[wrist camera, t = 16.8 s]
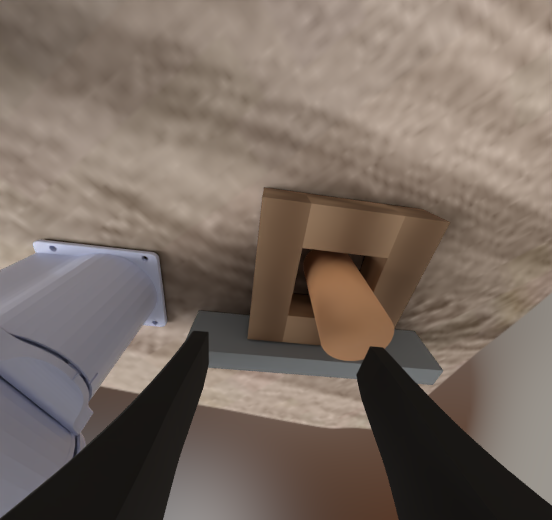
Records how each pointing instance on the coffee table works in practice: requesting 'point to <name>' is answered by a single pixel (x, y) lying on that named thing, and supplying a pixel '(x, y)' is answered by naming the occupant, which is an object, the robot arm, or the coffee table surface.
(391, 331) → the dowel
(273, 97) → the coffee table surface
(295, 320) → the brown square frame
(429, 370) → the wall
